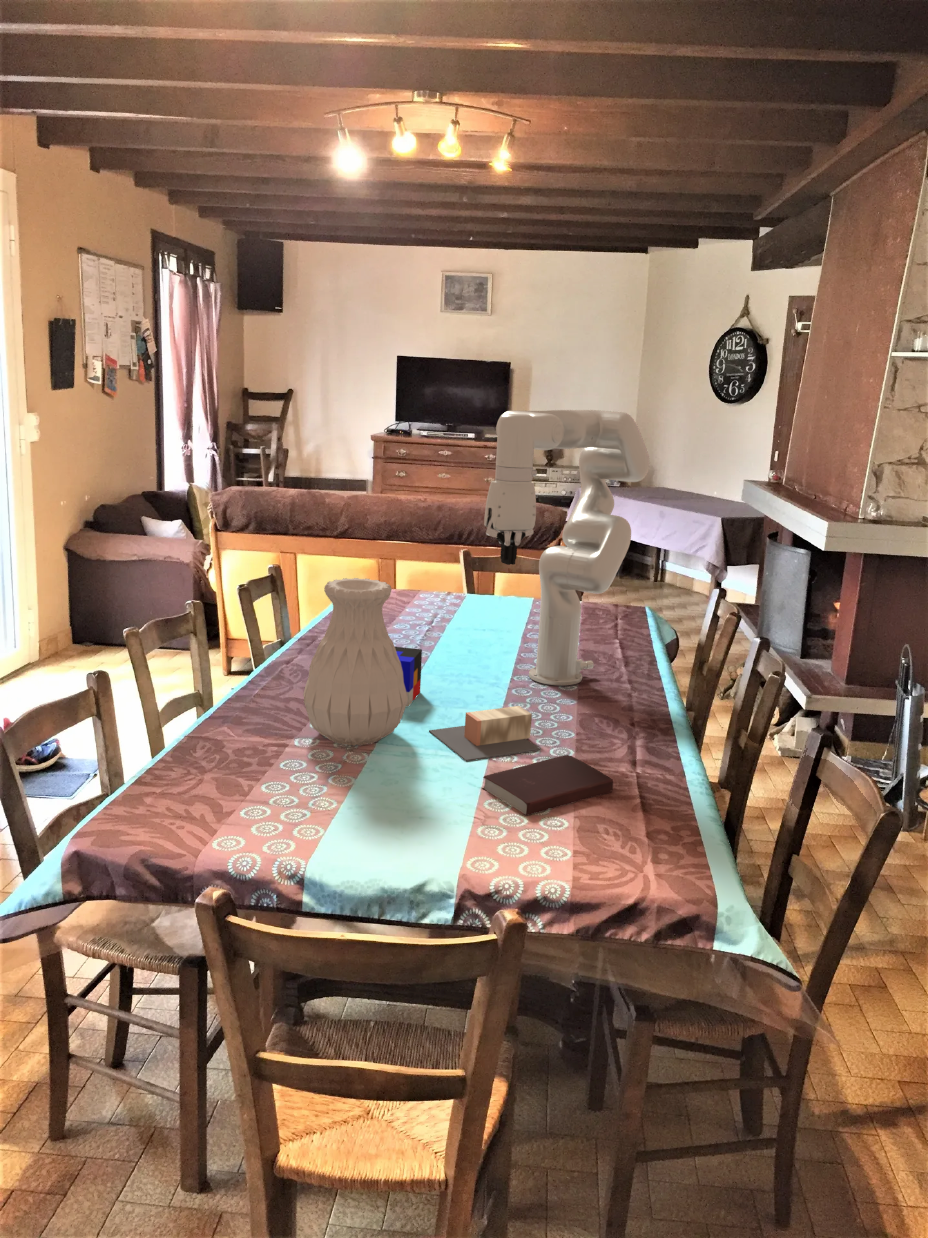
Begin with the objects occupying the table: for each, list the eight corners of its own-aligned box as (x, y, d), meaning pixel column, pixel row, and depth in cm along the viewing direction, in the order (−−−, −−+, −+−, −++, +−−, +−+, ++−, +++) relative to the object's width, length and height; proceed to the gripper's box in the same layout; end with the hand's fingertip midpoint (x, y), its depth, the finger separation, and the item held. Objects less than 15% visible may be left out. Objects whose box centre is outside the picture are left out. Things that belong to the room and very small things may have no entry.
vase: (427, 739, 188) (434, 588, 180) (345, 764, 174) (348, 601, 167) (363, 711, 202) (366, 569, 194) (281, 731, 188) (282, 580, 180)
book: (613, 795, 168) (614, 777, 167) (526, 819, 157) (527, 800, 156) (565, 770, 178) (566, 753, 177) (480, 791, 167) (481, 773, 166)
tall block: (519, 705, 194) (465, 712, 188) (531, 714, 189) (477, 721, 184) (517, 729, 195) (464, 736, 189) (530, 738, 190) (476, 745, 185)
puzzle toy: (408, 707, 206) (410, 661, 203) (363, 701, 208) (364, 656, 205) (420, 692, 215) (422, 649, 213) (376, 687, 217) (378, 644, 215)
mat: (499, 722, 199) (499, 721, 199) (540, 750, 185) (540, 748, 185) (428, 731, 192) (429, 730, 192) (465, 761, 178) (465, 759, 178)
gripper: (535, 473, 205) (529, 558, 209) (472, 473, 198) (468, 561, 202) (554, 477, 198) (547, 565, 203) (490, 477, 191) (485, 568, 196)
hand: (508, 563), depth 203 cm, fingers closed
